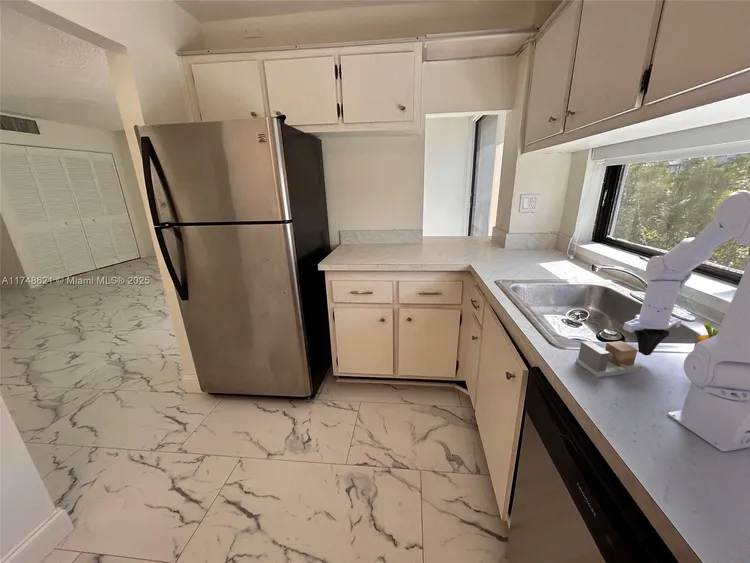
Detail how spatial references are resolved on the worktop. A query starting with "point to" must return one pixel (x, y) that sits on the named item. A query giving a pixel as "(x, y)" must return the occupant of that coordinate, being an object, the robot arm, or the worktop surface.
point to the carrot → (710, 333)
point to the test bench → (608, 371)
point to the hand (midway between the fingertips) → (644, 353)
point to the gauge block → (621, 354)
